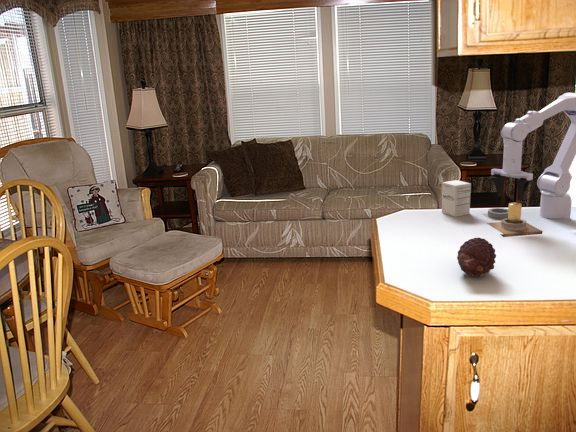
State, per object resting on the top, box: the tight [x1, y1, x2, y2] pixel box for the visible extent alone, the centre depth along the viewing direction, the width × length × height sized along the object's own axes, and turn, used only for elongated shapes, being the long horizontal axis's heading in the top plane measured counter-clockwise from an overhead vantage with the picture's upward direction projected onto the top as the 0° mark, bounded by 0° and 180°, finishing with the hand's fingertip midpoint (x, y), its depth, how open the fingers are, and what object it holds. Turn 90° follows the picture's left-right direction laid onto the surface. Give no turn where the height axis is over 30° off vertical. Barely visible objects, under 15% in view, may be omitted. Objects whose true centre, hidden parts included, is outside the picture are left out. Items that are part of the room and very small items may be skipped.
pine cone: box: [456, 237, 497, 278], centre depth 149 cm, size 18×10×10 cm, turn 160°
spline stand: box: [482, 207, 508, 222], centre depth 198 cm, size 9×9×3 cm
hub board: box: [486, 218, 543, 238], centre depth 185 cm, size 13×13×3 cm
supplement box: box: [441, 179, 472, 217], centre depth 203 cm, size 7×7×13 cm
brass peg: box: [507, 202, 522, 224], centre depth 184 cm, size 4×4×8 cm
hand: (510, 197), depth 189 cm, fingers open, 7 cm apart
